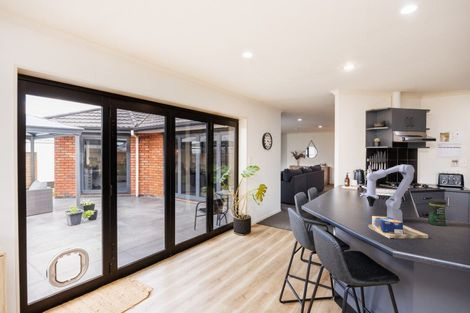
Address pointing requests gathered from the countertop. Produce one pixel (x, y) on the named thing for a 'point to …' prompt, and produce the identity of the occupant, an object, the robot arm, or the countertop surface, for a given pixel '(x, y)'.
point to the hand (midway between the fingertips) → (371, 206)
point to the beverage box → (388, 224)
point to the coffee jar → (437, 212)
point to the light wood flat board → (407, 233)
